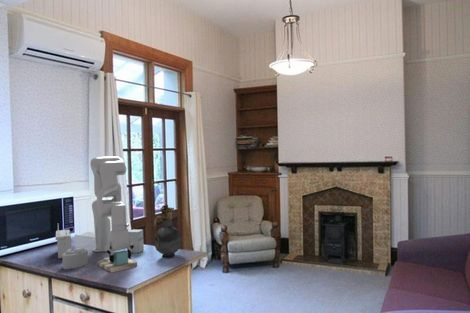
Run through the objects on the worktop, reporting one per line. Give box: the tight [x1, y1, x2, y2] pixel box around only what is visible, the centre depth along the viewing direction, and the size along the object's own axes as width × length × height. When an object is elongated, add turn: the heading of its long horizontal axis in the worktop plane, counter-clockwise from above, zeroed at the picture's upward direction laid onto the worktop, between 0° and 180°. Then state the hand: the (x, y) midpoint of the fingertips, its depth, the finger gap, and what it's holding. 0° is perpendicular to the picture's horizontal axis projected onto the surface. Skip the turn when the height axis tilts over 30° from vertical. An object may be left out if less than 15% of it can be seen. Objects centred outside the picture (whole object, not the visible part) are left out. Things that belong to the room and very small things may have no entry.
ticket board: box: [97, 256, 138, 273], centre depth 196 cm, size 18×14×3 cm
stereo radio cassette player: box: [55, 224, 72, 260], centre depth 222 cm, size 21×8×20 cm, turn 25°
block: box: [113, 249, 128, 265], centre depth 193 cm, size 5×6×6 cm
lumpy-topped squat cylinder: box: [61, 247, 89, 270], centre depth 199 cm, size 10×13×9 cm
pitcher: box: [153, 204, 182, 259], centre depth 207 cm, size 11×19×30 cm, turn 153°
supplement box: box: [128, 229, 145, 254], centre depth 223 cm, size 7×7×13 cm
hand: (120, 260), depth 193 cm, fingers open, 8 cm apart
